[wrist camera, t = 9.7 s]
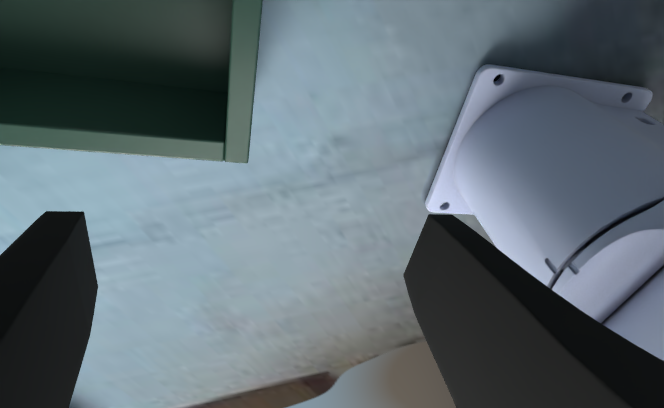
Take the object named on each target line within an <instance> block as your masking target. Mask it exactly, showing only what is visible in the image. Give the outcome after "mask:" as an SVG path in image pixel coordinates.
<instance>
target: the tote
mask: <svg viewBox="0 0 664 408" xmlns="http://www.w3.org/2000/svg"><path fill="white" fill-rule="evenodd" d="M262 2H263V0H0V145H6V146H20V147H34V148H47V149H61V150H74V151H88V152H101V153H115V154H128V155H142V156H156V157H169V158H183V159H196V160H210V161H224V160H225V162H235V163H248V158H249V147H250V136H251V125H252V114H253V102H254V91H255V80H256V69H257V58H258V47H259V36H260V24H261V13H262Z"/></svg>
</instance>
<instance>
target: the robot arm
mask: <svg viewBox="0 0 664 408" xmlns="http://www.w3.org/2000/svg"><path fill="white" fill-rule="evenodd" d="M498 74H501V76H500V78H499V80H498V81H496V82H493V81H494V78H495V77H496V76H497V75H498ZM624 94H626V95H625V96H624ZM652 95H653V93H652V91H650V90H648V89H647V88H644V87H638V86H632V85H625V84H618V83H611V82H605V81H598V80H591V79H585V78H578V77H571V76H565V75H558V74H551V73H545V72H538V71H531V70H525V69H518V68H511V67H505V66H498V65H491V64H488V65H484V66H482V67H481V68H480V69H479V70H478V71H477V73H476V74H475V77H474V80H473V82H472V85H471V87H470V90H469V92H468V95H467V97H466V100H465V102H464V105H463V107H462V110H461V113H460V115H459V118H458V120H457V123H456V125H455V128H454V130H453V133H452V135H451V138H450V140H449V143H448V146H447V148H446V151H445V153H444V156H443V158H442V161H441V163H440V166H439V168H438V171H437V173H436V176H435V179H434V181H433V184H432V186H431V189H430V191H429V194H428V196H427V199H426V202H425V205H426V207H427V209H428V210H429V211H430V212H436V213H455V214H474V215H475V216H476V218H477V219H478V221H479V222H480V224H481V225H482V227H483V228H484V229H485V231H486V232H487V234H488V235H489V237H490V238H491V240H492V241H493V243H494V244H495V246H496V247H497V248H496V247H495V246H493V245H492V244H491V243H490V242H488V241H487V240H486V239H484V238H483V237H482V236H481V235H479V234H478V233H477V232H475V231H474V230H473V229H471V228H470V227H469V226H467V225H466V224H465V223H463V222H462V221H460V220H459V219H457V218H456V217H454V216H453V215H434V214H429V215H428V217H427V220H426V222H425V224H424V227H423V229H422V232H421V234H420V236H419V239H418V241H417V244H416V246H415V248H414V251H413V253H412V256H411V258H410V260H409V263H408V265H407V268H406V270H405V273H404V279H405V283H406V286H407V290H408V294H409V297H410V300H411V303H412V307H413V310H414V313H415V316H416V318H417V320H418V323H419V325H420V327H421V329H422V332H423V334H424V336H425V339H426V341H427V343H428V345H429V347H430V350H431V352H432V354H433V356H434V359H435V361H436V363H437V365H438V367H439V369H440V372H441V374H442V376H443V378H444V381H445V383H446V385H447V387H448V389H449V392H450V394H451V396H452V398H453V401H454V403H455V405H456V408H664V124H662V123H661V122H659V121H657V120H656V119H654V118H652V117H651V116H649V115H647V114H646V113H644V110H645V109H646V107H647V106H648V104H649V103H650V101H651V99H652ZM623 96H624V97H623ZM622 97H623V98H622ZM444 202H446V203H445V204H444V205H441V204H442V203H444ZM97 289H98V284H97V279H96V274H95V268H94V263H93V258H92V253H91V247H90V242H89V237H88V231H87V226H86V221H85V215H84V212H57V211H46V212H45V213H44V214H43V215H41V216H40V217H39V218H38V219H37V220H36V221H35V222H34V223H33V224H32V225H31V226H30V227H29V228H28V229H27V230H26V231H25V232H24V233H23V234H22V235H21V236H20V237H19V238H18V239H16V240H15V241H14V242H13V243H12V244H11V245H10V246H9V247H8V248H7V249H6V250H5V251H4V252H3V253H2V254H1V255H0V408H69V404H70V401H71V398H72V394H73V391H74V388H75V384H76V381H77V378H78V374H79V371H80V368H81V364H82V361H83V357H84V354H85V351H86V347H87V344H88V340H89V337H90V332H91V326H92V321H93V315H94V309H95V302H96V296H97Z"/></svg>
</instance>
